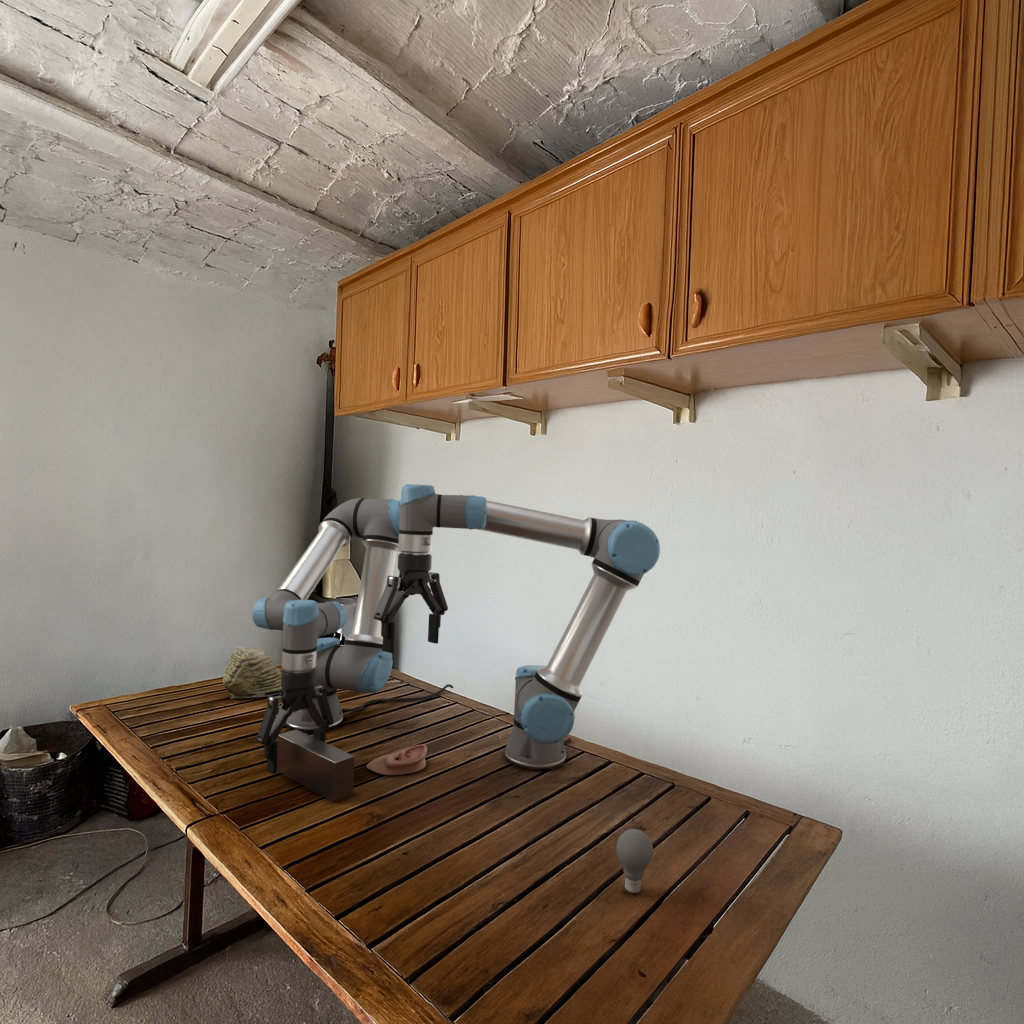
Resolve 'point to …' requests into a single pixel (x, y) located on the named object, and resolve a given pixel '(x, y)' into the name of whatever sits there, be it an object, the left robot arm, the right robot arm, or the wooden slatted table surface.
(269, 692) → the fossil
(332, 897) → the wooden slatted table surface
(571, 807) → the wooden slatted table surface
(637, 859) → the light bulb
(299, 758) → the bar
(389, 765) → the anatomical model
